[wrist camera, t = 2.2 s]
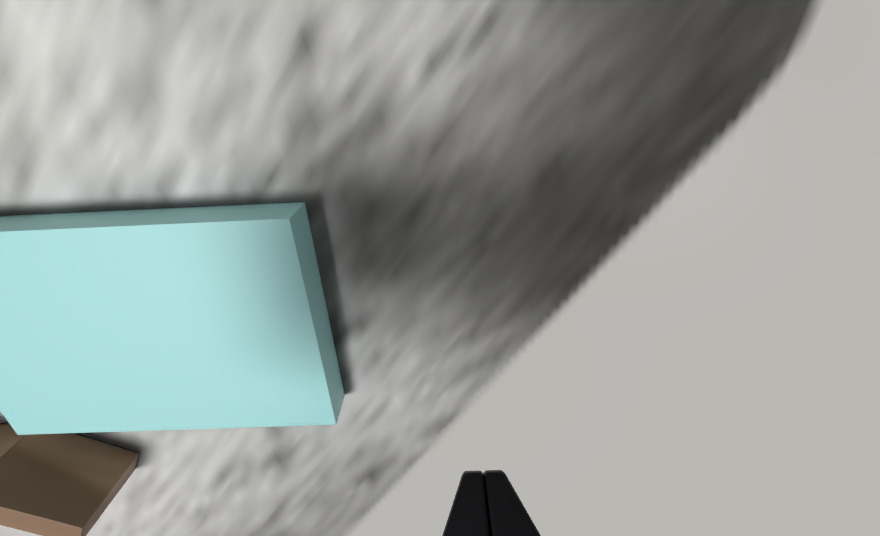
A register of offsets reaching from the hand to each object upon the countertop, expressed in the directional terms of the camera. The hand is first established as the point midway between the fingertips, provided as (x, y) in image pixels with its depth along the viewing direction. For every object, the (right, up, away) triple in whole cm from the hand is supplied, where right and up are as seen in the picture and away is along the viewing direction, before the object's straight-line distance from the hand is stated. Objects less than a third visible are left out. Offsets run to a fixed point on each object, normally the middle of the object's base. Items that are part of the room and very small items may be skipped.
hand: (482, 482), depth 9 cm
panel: (-11, +3, +7) cm, 13 cm away
